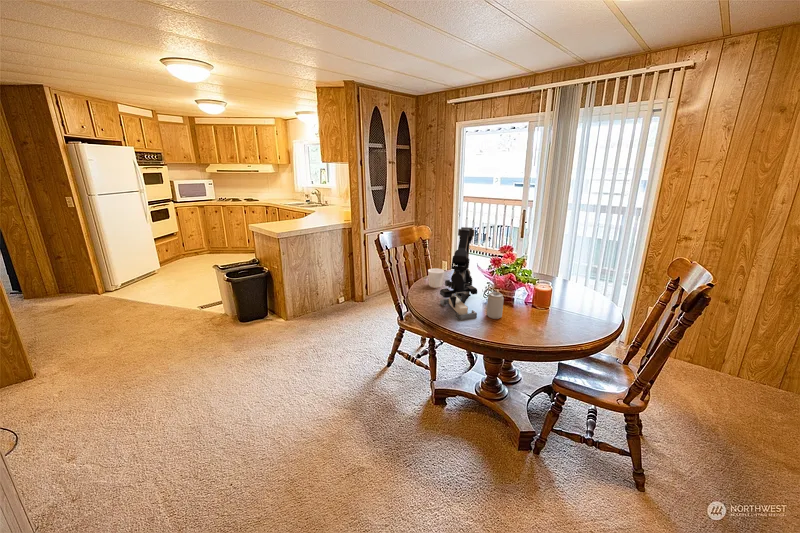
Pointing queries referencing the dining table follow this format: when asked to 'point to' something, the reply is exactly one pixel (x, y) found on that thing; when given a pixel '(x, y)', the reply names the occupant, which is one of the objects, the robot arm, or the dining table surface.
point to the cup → (436, 277)
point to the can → (495, 305)
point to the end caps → (458, 316)
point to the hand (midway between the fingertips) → (457, 307)
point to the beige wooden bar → (459, 306)
